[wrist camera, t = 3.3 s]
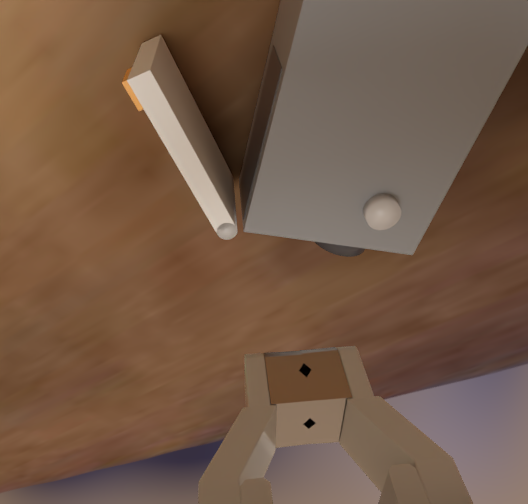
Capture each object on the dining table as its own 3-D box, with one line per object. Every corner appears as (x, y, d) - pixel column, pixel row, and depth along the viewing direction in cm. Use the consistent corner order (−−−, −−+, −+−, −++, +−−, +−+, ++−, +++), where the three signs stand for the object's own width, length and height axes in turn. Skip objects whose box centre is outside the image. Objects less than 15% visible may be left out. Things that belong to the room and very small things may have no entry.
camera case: (304, -106, 23) (332, -99, 17) (500, -46, 25) (578, -24, 20) (234, 196, 33) (238, 258, 28) (378, 218, 35) (407, 279, 30)
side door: (129, 49, 26) (111, 87, 22) (160, 34, 26) (150, 69, 21) (209, 193, 32) (209, 246, 28) (236, 182, 32) (240, 235, 27)
